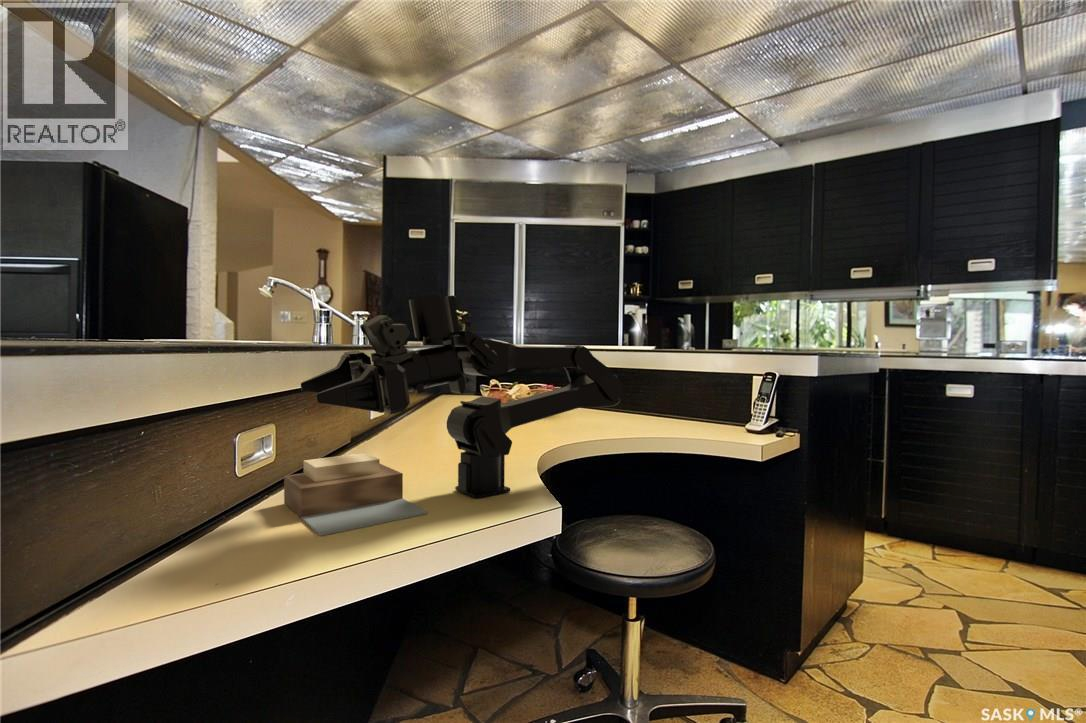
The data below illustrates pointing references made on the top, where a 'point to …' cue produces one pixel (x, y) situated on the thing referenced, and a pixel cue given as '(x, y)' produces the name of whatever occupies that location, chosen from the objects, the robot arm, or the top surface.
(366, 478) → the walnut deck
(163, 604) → the top surface
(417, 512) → the mat
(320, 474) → the pale maple block
